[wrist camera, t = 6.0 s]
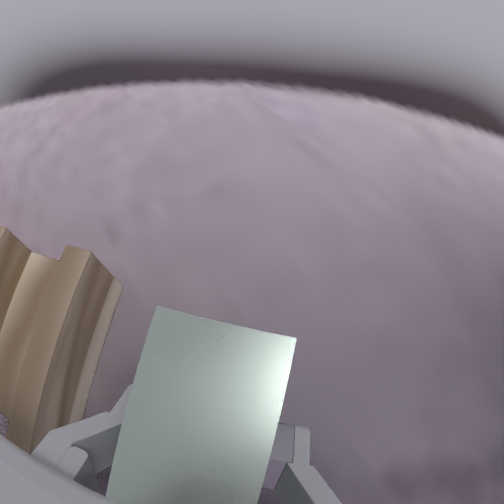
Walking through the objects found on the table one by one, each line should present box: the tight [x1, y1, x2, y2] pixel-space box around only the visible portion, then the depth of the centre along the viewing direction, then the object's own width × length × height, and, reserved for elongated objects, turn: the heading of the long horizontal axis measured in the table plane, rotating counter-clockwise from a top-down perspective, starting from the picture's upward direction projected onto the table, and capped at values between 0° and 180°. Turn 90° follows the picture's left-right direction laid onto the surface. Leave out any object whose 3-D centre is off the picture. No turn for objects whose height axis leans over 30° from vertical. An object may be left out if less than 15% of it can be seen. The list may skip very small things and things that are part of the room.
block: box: [105, 305, 297, 504], centre depth 10 cm, size 3×6×10 cm, turn 167°
